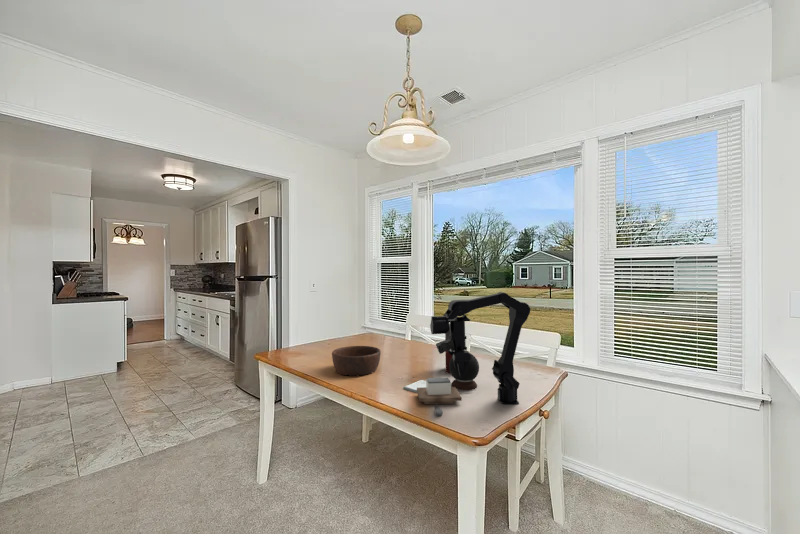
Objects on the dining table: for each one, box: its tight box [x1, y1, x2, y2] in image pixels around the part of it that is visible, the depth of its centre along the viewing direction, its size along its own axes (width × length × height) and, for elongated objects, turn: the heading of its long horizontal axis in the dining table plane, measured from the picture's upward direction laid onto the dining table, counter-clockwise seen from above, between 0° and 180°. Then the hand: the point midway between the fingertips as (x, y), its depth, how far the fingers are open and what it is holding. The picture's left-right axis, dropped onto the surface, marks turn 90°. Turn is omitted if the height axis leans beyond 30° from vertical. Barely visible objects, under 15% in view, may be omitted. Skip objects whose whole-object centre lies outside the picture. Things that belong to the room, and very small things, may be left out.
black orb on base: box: [449, 352, 480, 391], centre depth 154 cm, size 13×13×15 cm
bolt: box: [434, 404, 444, 417], centre depth 125 cm, size 6×3×3 cm, turn 2°
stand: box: [416, 386, 462, 405], centre depth 137 cm, size 16×12×3 cm
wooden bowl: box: [331, 345, 382, 377], centre depth 179 cm, size 25×25×10 cm
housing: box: [425, 377, 452, 395], centre depth 137 cm, size 9×5×5 cm, turn 94°
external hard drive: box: [403, 379, 426, 394], centre depth 153 cm, size 2×8×12 cm
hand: (459, 373), depth 134 cm, fingers open, 9 cm apart
